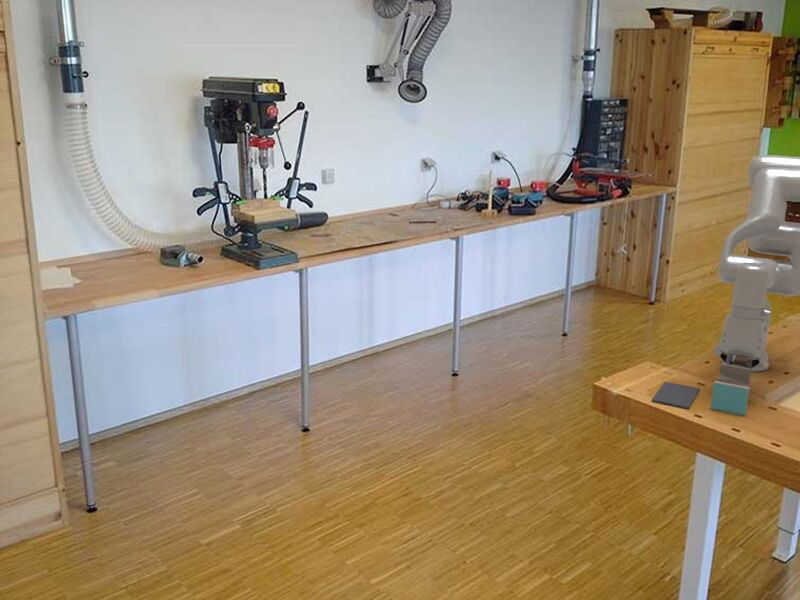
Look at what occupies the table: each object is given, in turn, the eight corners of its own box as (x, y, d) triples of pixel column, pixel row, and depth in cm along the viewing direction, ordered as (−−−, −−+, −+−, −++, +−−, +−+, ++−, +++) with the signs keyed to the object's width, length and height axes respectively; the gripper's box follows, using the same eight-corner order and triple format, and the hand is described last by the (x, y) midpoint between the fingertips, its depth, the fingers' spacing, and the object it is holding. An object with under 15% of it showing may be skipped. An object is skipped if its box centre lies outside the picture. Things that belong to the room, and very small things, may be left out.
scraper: (725, 371, 208) (728, 350, 207) (754, 377, 205) (757, 355, 203) (717, 386, 197) (720, 364, 196) (747, 392, 194) (751, 370, 192)
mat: (664, 383, 211) (664, 381, 211) (699, 390, 207) (699, 388, 207) (651, 401, 198) (651, 399, 198) (688, 409, 194) (689, 407, 194)
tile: (711, 406, 196) (715, 380, 195) (745, 413, 193) (749, 387, 191) (710, 408, 195) (714, 382, 193) (744, 415, 191) (749, 389, 189)
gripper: (783, 313, 196) (772, 382, 201) (714, 303, 204) (705, 370, 209) (781, 321, 190) (769, 392, 194) (710, 310, 197) (700, 378, 202)
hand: (736, 380), depth 201 cm, fingers closed on scraper, 3 cm apart
